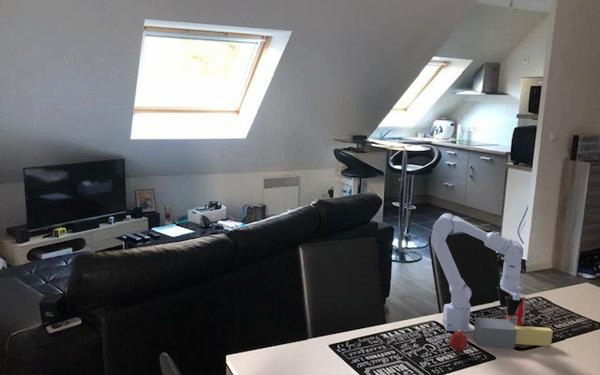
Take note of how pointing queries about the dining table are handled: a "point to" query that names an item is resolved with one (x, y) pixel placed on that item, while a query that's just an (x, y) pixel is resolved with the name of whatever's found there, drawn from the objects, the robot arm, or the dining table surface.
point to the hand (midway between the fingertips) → (507, 310)
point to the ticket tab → (533, 336)
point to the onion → (458, 341)
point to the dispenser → (495, 333)
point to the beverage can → (518, 313)
